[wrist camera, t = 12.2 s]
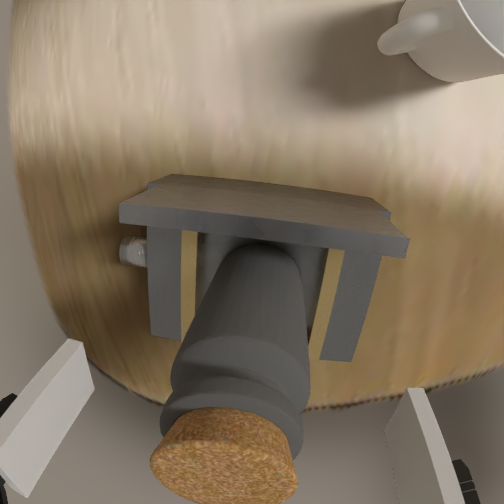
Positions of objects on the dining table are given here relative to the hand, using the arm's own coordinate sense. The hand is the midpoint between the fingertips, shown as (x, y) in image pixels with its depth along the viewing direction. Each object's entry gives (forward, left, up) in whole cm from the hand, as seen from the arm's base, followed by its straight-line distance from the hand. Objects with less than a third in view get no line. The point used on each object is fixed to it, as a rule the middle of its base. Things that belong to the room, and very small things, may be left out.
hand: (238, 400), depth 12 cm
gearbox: (0, -1, -16) cm, 16 cm away
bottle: (0, 0, -11) cm, 11 cm away
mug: (-20, +11, -16) cm, 28 cm away
